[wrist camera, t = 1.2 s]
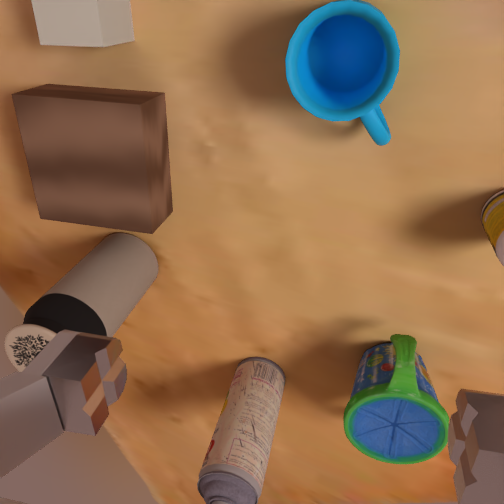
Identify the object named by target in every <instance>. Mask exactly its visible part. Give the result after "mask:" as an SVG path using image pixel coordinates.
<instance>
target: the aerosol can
mask: <svg viewBox="0 0 504 504" xmlns="http://www.w3.org/2000/svg"><path fill="white" fill-rule="evenodd" d="M284 385H285V375H284V372H283V370H282V369H281V368H280V367H279V366H278V365H277V364H276V363H274V362H273V361H271V360H268V359H266V358H261V357H249V358H247V359H244V360H243V361H241V362H240V363H239V364H238V367H237V369H236V372H235V375H234V377H233V380H232V383H231V386H230V389H229V392H228V394H227V397H226V400H225V403H224V406H223V409H222V411H221V414H220V417H219V420H218V423H217V425H216V428H215V431H214V434H213V437H212V440H211V442H210V445H209V448H208V451H207V454H206V457H205V459H204V462H203V465H202V468H201V471H200V473H199V481H198V483H197V486H198V491H199V493H200V495H201V496H202V497H203V498H204V500H205V502H206V504H257V503H258V498H259V497H260V495H261V492H262V487H263V482H264V478H265V473H266V468H267V464H268V459H269V455H270V450H271V445H272V441H273V436H274V432H275V427H276V422H277V418H278V413H279V409H280V404H281V399H282V395H283V390H284Z"/></svg>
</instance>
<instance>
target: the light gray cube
mask: <svg viewBox="0 0 504 504" xmlns="http://www.w3.org/2000/svg"><path fill="white" fill-rule="evenodd" d="M31 1H32V6H33V11H34V16H35V21H36V25H37V30H38V35H39V40H40V45H57V46H87V47H106V46H111V45H116V44H121V43H126V42H131V41H135V40H134V31H133V22H132V14H131V5H130V0H31Z"/></svg>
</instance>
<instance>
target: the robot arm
mask: <svg viewBox="0 0 504 504" xmlns="http://www.w3.org/2000/svg"><path fill="white" fill-rule="evenodd" d="M122 351H123V349H122V345H121V341H120V340H119V339H117V338H113V337H107V336H101V335H95V334H90V333H84V332H76V331H70V330H63V331H60V332H59V333H58V334H57V335H56V336H55V337H54V338H53V339H52V340H51V341H50V342H49V343H48V344H47V345H46V346H45V348H44V349H43V350H42V351H41V352H40V353H39V354H38V355H37V356H36V357H35V358H34V359H33V360H32V362H31V363H30V364H29V365H28V366H27V367H26V368H25V369H24V370H23V371H22V372H14V373H12V374H10V375H8V376H6V377H3V378H1V379H0V478H2V477H3V476H5V475H6V474H7V473H9V472H10V471H11V470H13V469H14V468H16V467H17V466H18V465H20V464H21V463H23V462H24V461H25V460H27V459H28V458H29V457H31V456H32V455H33V454H35V453H36V452H38V451H39V450H41V449H42V448H43V447H45V446H46V445H47V444H49V443H50V442H52V441H53V440H54V439H56V438H57V437H59V436H60V435H61V434H62V433H64V431H69V432H75V433H81V434H87V435H94V436H96V434H97V433H98V431H99V430H100V428H101V426H102V425H103V423H104V422H105V420H106V418H107V417H108V415H109V411H108V406H109V405H111V404H112V403H114V402H116V401H117V400H118V399H119V397H120V396H121V394H122V392H123V390H124V387H125V383H126V380H127V369H126V364H125V362H124V361H123V360H122V359H121V358H120V357H119V355H120V354H121V352H122ZM456 405H457V410H458V411H457V412H456V413H454V414H452V415H451V418H450V422H449V427H448V450H449V456H450V459H451V460H452V462H453V463H454V464H455V465H456V466H457V467H456V470H455V474H454V477H453V478H454V484H455V489H456V494H457V500H458V504H504V394H497V393H490V392H483V391H475V390H468V389H461V390H460V391H459V392H458V395H457V398H456ZM0 504H27V503H23V502H18V501H14V500H10V499H6V498H1V497H0Z"/></svg>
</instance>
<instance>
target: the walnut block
mask: <svg viewBox="0 0 504 504" xmlns="http://www.w3.org/2000/svg"><path fill="white" fill-rule="evenodd" d="M12 98H13V102H14V107H15V111H16V115H17V120H18V124H19V128H20V133H21V137H22V141H23V146H24V150H25V154H26V158H27V163H28V167H29V171H30V176H31V180H32V184H33V189H34V193H35V197H36V202H37V206H38V210H39V215H40V219H47V220H54V221H61V222H69V223H76V224H83V225H91V226H98V227H105V228H113V229H120V230H127V231H134V232H142V233H149V234H153V233H154V232H155V230H156V229H157V228H158V227H159V226H160V225H161V224H162V223H163V222H164V221H165V219H166V218H167V217H168V216H169V215H170V214H171V213H172V212H173V207H172V192H171V177H170V162H169V148H168V133H167V118H166V103H165V93H160V92H147V91H134V90H121V89H108V88H95V87H82V86H69V85H55V84H46V85H43V86H39V87H35V88H32V89H28V90H25V91H21V92H18V93H14V94H12Z"/></svg>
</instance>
